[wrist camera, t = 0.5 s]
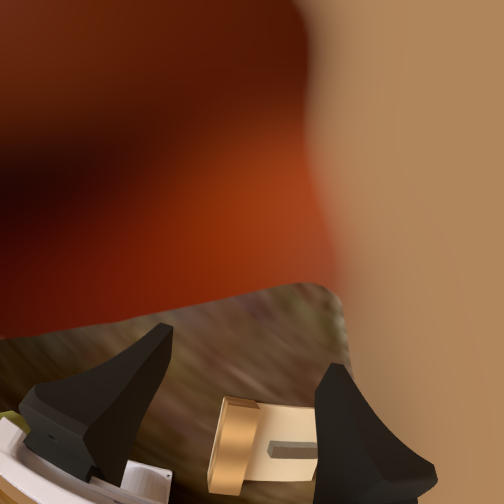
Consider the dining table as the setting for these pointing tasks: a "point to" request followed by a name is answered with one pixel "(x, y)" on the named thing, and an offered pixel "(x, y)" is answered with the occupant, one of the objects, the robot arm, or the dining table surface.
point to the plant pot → (16, 420)
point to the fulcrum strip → (292, 450)
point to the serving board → (280, 429)
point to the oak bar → (233, 445)
